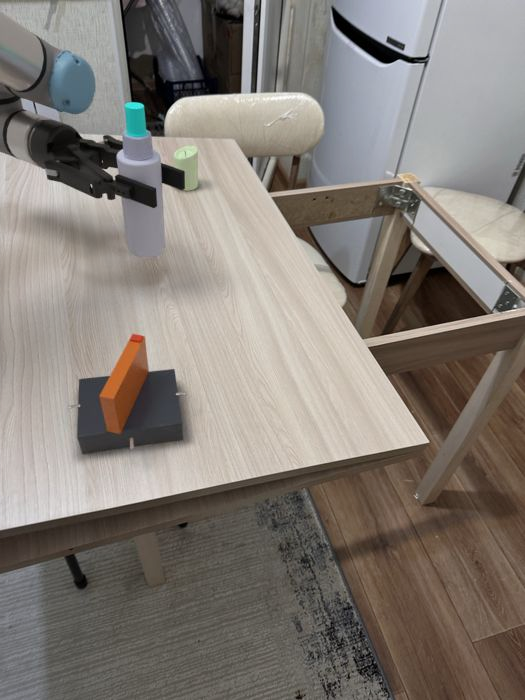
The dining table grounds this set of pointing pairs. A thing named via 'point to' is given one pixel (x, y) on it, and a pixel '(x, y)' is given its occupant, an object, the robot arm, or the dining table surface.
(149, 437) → the dark square tile
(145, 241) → the spray bottle
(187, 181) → the candle
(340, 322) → the dining table surface
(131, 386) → the orange toy brick
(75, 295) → the dining table surface
